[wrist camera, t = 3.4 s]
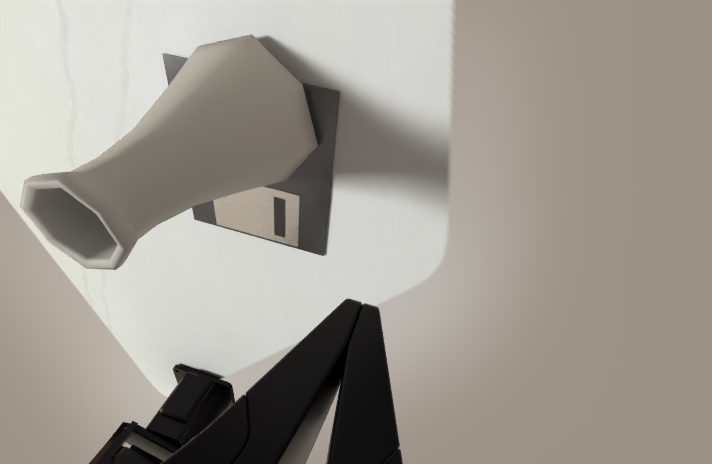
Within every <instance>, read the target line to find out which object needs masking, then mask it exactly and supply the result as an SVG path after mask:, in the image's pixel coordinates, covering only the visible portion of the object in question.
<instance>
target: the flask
mask: <svg viewBox="0 0 712 464" xmlns="http://www.w3.org/2000/svg"><path fill="white" fill-rule="evenodd" d="M317 146H318V144H317V140H316V136H315V132H314V128H313V124H312V120H311V116H310V112H309V109H308V105H307V101H306V97H305V93H304V89H303V85H302V84H301V83H300V82H299V81H298V80H297V79H296V78H295V77H294V76H293V75H292V74H291V73H290V72H289V71H288V70H287V69H286V68H285V67H284V66H283V65H282V64H281V63H280V62H279V61H278V60H277V59H276V58H275V57H274V56H273V55H272V54H271V53H270V52H269V51H268V50H267V49H266V48H265V47H264V46H263V45H262V44H261V43H260V42H259V41H258V40H257V39H256V38H255V37H254V36H253V35H247V36H242V37H238V38H233V39H229V40H224V41H219V42H215V43H210V44H206V45H201V46H198V47H197V48H196V50H195V51H194V52H193V53H192V55H191V56H190V57H189V58H188V60H187V61H186V63H185V64H184V65H183V67H182V68H181V70H180V71H179V72H178V74H177V75H176V76H175V78H174V79H173V81H172V82H171V83H170V85H169V86H168V88H167V89H166V90H165V91H164V92H163V94H162V95H161V96H160V97H159V99H158V100H157V101H156V102H155V103H154V105H153V106H152V107H151V108H150V110H149V111H148V112H147V113H146V114H145V116H144V117H143V118H142V119H141V120H140V122H139V123H138V124H137V125H136V127H135V128H134V129H133V130H132V131H131V132H129V133H128V134H127V135H126V136H124V137H123V138H122V139H120V140H119V141H118V142H117V143H115V144H114V145H113V146H112V147H110V148H109V149H108V150H107V151H105V152H104V153H103V154H102V155H100V156H99V157H98V158H96V159H94V160H92V161H90V162H88V163H86V164H84V165H82V166H80V167H78V168H77V169H75V170H73V171H71V172H62V173H50V174H41V175H37V176H32V177H30V178H28V179H26V180H25V181H24V185H23V191H22V197H21V203H20V207H21V208H22V210H23V211H24V212H25V213H26V214H27V216H28V217H29V218H30V219H31V221H32V222H33V223H34V224H35V226H36V227H37V228H38V229H39V230H40V232H41V233H42V234H43V235H44V237H45V238H46V239H47V240H48V242H49V243H51V244H52V245H54V246H55V247H57V248H58V249H59V250H61V251H62V252H64V253H65V254H67V255H68V256H69V257H71V258H72V259H74V260H75V261H77V262H78V263H79V264H81V265H82V266H84V267H85V268H88V269H113V270H116V269H117V268H119V267H120V266H121V265H122V264H123V263H124V262H125V260H126V259H127V257H128V256H129V254H130V252H131V251H132V249H133V247H134V245H135V244H136V242H137V240H138V239H139V238H141V237H142V236H143V235H144V234H146V233H147V232H148V231H150V230H151V229H152V228H154V227H155V226H156V225H158V224H160V223H162V222H164V221H166V220H168V219H170V218H172V217H174V216H176V215H178V214H180V213H182V212H184V211H186V210H188V209H190V208H192V207H193V206H195V205H199V204H202V203H205V202H209V201H212V200H215V199H219V198H222V197H225V196H229V195H232V194H235V193H239V192H242V191H246V190H250V189H254V188H258V187H262V186H266V185H270V184H274V183H278V182H281V181H285V180H287V179H288V178H289V177H290V176H291V175H292V174H293V173H294V172H295V171H296V170H297V168H298V167H299V166H300V165H301V164H302V163H303V162H304V161H305V160H306V159H307V157H308V156H309V155H310V154H311V153H312V152H313V151H314V150H315V149H316V148H317Z"/></svg>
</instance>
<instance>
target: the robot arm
mask: <svg viewBox="0 0 712 464" xmlns="http://www.w3.org/2000/svg"><path fill="white" fill-rule="evenodd" d="M173 371H174V374H175V377H176V380H177V383H178V385H177V386H176V387H175V389H174V390H173V392H172V393H171V394H170V396H169V397H168V399H167V400H166V401H165V403H164V404H163V405H162V407H161V408H160V409H159V411H158V412H157V414H156V415H155V416H154V418H153V419H152V421H151V422H150V423H149V425H148V426H147V427H146V429H145V428H143V427H141V426H139V425H137V424H138V423H136V422H134V421H132V423H131V424H130V423H125V422H123V423H122V424H121V425H120V427H119V428H118V429H117V431H116V432H115V433H114V434H113V436H112V437H111V438H110V439H109V441H108V442H107V443H106V444H105V445H104V447H103V448H102V449H101V450H100V451H99V452H98V454H97V455H96V456H95V457H94V458H93V460H92V461H91V462H90V463H89V464H306V461H307V459H308V457H309V455H310V452H311V450H312V448H313V446H314V443H315V441H316V439H317V437H318V434H319V432H320V430H321V428H322V425H323V423H324V421H325V418H326V416H327V414H328V412H329V409H330V407H331V405H332V403H333V400H334V398H335V396H336V393H337V391H338V388H339V386H340V389H339V394H338V400H337V406H336V411H335V417H334V423H333V428H332V434H331V439H330V444H329V450H328V456H327V462H326V464H403V463H402V457H401V451H400V449H398V448H399V446H400V444H399V438H398V431H397V425H396V418H395V411H394V404H393V398H392V391H391V385H390V378H389V371H388V365H387V358H386V351H385V345H384V338H383V332H382V325H381V318H380V312H379V309H378V307H376V306H373V305H369V304H363V305H362V303H361V302H359V301H356V300H352V299H346V300H345V301H343V302H342V303H341V304H340V305H339V306H338V307H337V308H336V309H335V310H334V311H333V312H332V313H331V314H329V315H328V316H327V317H326V318H325V319H324V320H323V321H322V322H321V323H320V324H319V325H318V326H317V327H316V328H314V329H313V330H312V331H311V332H310V333H309V334H308V335H307V336H306V337H305V338H304V339H303V340H302V341H301V342H299V343H298V344H297V345H296V346H295V347H294V348H293V349H292V350H291V351H290V352H289V353H288V354H287V355H286V356H284V357H283V358H282V359H281V360H280V361H279V362H278V363H277V364H276V365H275V366H274V367H273V368H272V369H270V371H268V372H267V373H266V374H265V375H264V376H263V377H262V378H261V379H260V380H259V381H258V382H257V383H255V385H253V386H252V387H251V388H250V389H249V390H248V391H247V392H246V395H242V396H241V397H240V398H239V399H238V400H237V401H236V402H235V399H234V393H233V388H232V385H231V384H230V383H229V382H226V381H223V380H220V379H218V378H215V377H212V376H209V375H206V374H203V373H200V372H198V371H195V370H192V369H189V368H186V367H183V366H180V365H175V366H174V368H173ZM340 383H341V384H340ZM125 442H126V443H128V444H130V445H132V446H131V447H130V449H129V448H127V447H124V446H123V445H124V444H125Z"/></svg>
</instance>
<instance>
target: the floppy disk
mask: <svg viewBox="0 0 712 464" xmlns="http://www.w3.org/2000/svg"><path fill="white" fill-rule="evenodd" d="M163 59H164V64H165V70H166V75H167V80H168V85H170V83H171V82H172V81H173V79H174V78H175V76H176V75H177V74H178V72H179V71H180V70H181V68H182V67H183V65H184V64H185V63H186V61H187V60H188V59H186V58H182V57H177V56H173V55H168V54H163ZM301 84H302V83H301ZM302 85H303V89H304V93H305V97H306V101H307V105H308V109H309V112H310V116H311V120H312V124H313V128H314V132H315V136H316V140H317V144H318V146H317V148H316V149H315V150H314V151H313V152H312V153H311V154H310V155H309V156H308V157H307V159H306V160H305V161H304V162H303V163H302V164H301V165H300V166H299V167H298V168H297V170H296V171H295V172H294V173H293V174H292V175H291V176H290V177H289V178H288V179H287V180H285V181H281V182H278V183H274V184H270V185H266V186H262V187H258V188H254V189H250V190H246V191H242V192H239V193H235V194H232V195H229V196H225V197H222V198H219V199H215V200H212V201H209V202H205V203H202V204H199V205H195V206H193V207H192V209H193V214H194V219H195V220H199V221H202V222H206V223H209V224H213V225H216V226H220V227H223V228H227V229H230V230H234V231H237V232H241V233H244V234H248V235H251V236H255V237H258V238H262V239H265V240H269V241H272V242H276V243H280V244H283V245H287V246H290V247H294V248H297V249H301V250H304V251H308V252H311V253H315V254H318V255H322V256H324V250H325V239H326V229H327V218H328V208H329V197H330V186H331V176H332V165H333V154H334V144H335V133H336V123H337V112H338V101H339V91H334V90H330V89H325V88H320V87H316V86H311V85H307V84H302Z"/></svg>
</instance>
